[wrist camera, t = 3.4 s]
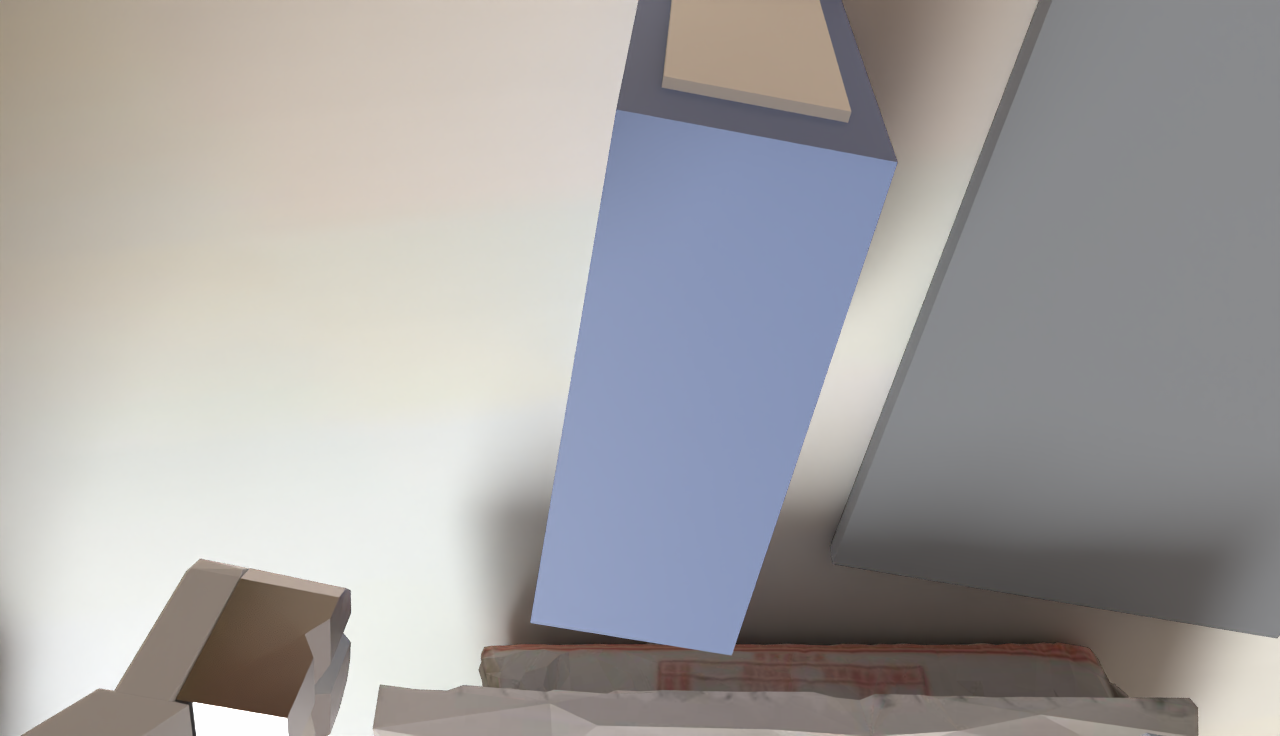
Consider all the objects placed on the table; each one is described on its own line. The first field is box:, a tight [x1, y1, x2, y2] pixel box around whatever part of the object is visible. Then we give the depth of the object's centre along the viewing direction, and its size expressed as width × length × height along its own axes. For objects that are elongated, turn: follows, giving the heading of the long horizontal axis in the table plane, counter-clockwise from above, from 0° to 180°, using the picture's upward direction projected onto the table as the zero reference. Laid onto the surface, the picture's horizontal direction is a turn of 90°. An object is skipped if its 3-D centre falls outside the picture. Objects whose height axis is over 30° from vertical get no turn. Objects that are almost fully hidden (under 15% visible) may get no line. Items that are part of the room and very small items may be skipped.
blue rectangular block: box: [530, 0, 898, 656], centre depth 18 cm, size 9×3×7 cm, turn 170°
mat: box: [830, 0, 1280, 638], centre depth 21 cm, size 16×11×1 cm
